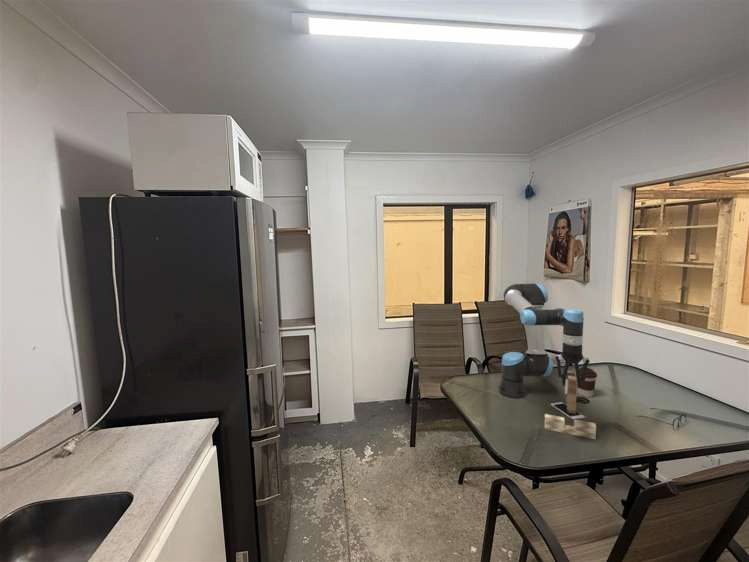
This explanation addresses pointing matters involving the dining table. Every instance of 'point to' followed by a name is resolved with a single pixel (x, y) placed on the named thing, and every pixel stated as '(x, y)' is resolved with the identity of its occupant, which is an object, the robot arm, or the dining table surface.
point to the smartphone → (563, 409)
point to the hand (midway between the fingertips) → (570, 393)
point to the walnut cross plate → (571, 392)
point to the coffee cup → (587, 383)
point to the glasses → (673, 420)
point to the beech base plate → (578, 429)
